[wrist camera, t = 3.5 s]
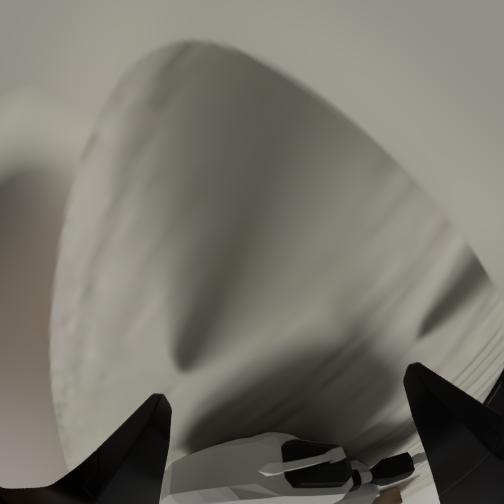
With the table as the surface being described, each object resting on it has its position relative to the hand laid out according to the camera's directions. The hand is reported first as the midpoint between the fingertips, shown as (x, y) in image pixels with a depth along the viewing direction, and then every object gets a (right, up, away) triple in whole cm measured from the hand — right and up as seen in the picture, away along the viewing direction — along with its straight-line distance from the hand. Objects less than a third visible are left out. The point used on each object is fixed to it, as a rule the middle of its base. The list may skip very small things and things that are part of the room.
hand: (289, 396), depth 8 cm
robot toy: (+1, -8, +5) cm, 9 cm away
